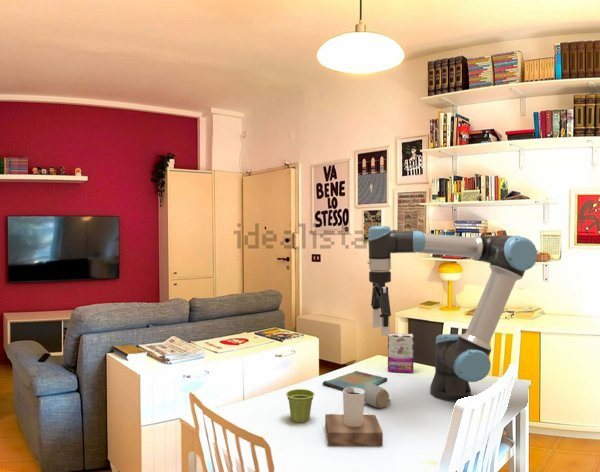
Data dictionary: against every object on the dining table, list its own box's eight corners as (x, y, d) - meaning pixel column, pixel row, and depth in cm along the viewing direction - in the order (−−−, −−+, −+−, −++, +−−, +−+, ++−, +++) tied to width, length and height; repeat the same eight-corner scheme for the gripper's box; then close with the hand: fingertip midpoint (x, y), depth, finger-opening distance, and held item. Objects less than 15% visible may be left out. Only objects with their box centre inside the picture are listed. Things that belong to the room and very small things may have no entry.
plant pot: (293, 427, 165) (294, 400, 165) (281, 416, 173) (281, 391, 173) (319, 421, 169) (319, 395, 169) (305, 412, 178) (306, 387, 177)
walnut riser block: (374, 426, 166) (375, 414, 166) (382, 446, 152) (382, 432, 152) (325, 426, 166) (325, 414, 165) (328, 445, 152) (328, 432, 151)
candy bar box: (412, 370, 229) (413, 333, 228) (413, 373, 224) (414, 336, 223) (387, 368, 230) (387, 332, 230) (387, 372, 226) (388, 334, 225)
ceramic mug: (376, 411, 180) (377, 390, 179) (360, 404, 186) (361, 384, 186) (396, 405, 186) (396, 384, 186) (379, 399, 192) (380, 379, 192)
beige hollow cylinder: (349, 428, 154) (349, 395, 154) (338, 420, 160) (339, 389, 160) (368, 425, 157) (368, 393, 157) (357, 417, 163) (357, 386, 163)
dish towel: (320, 387, 206) (320, 380, 206) (354, 374, 224) (354, 368, 224) (356, 397, 195) (356, 390, 195) (388, 382, 213) (388, 376, 213)
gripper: (362, 267, 191) (363, 324, 192) (376, 275, 166) (377, 340, 167) (382, 266, 191) (383, 323, 192) (399, 274, 167) (400, 339, 167)
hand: (380, 331), depth 180 cm, fingers open, 13 cm apart
